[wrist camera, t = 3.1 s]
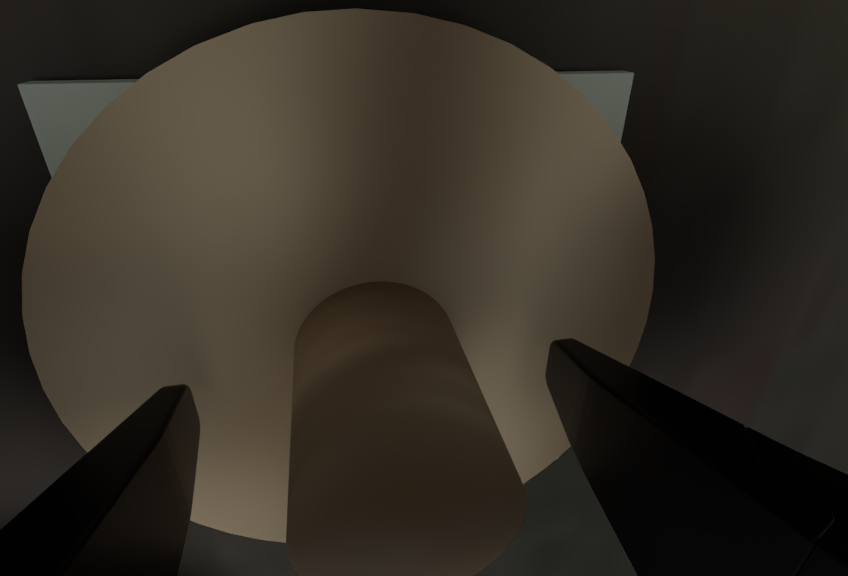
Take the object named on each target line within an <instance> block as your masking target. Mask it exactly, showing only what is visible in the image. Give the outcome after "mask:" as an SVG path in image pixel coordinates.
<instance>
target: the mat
mask: <svg viewBox="0 0 848 576" xmlns="http://www.w3.org/2000/svg"><path fill="white" fill-rule="evenodd" d="M557 73H558V74H559V75H560V76H561V77H563V78H564V79H565V80H566V81H567V82H569V83H570V84H571V85H572V86H573V87H574V88H576V89H577V90H578V91H579V92H580V93H582V94H583V95H584V96H585V97H586V98H587V100H588V101H589V102H590V103H591V104H592V105H593V106H594V108H595V109H596V110H597V111H598V112H599V113H600V115H601V116H602V117H603V118H604V119H605V120H606V122H607V123H608V124H609V125H610V126H611V128H612V129H613V131H614V133H615V134H616V136H617V138H618V139H619V141H620V142H621V138H622V133H623V128H624V123H625V118H626V113H627V108H628V103H629V97H630V92H631V87H632V82H633V77H634V73H632V72H627V71H566V72H557ZM138 80H139V79H112V80H55V81H28V82H24V83H21V84H17V85H18V88H19V91H20V93H21V96H22V99H23V101H24V104H25V107H26V110H27V112H28V115H29V118H30V120H31V123H32V126H33V129H34V131H35V134H36V137H37V139H38V142H39V145H40V148H41V150H42V153H43V156H44V158H45V161H46V164H47V167H48V169H49V172H50V175H51V177H53V175H54V174H55V172H56V170H57V169H58V167H59V165H60V164H61V162H62V160H63V159H64V157H65V155H66V154H67V152H68V150H69V149H70V147H71V146H72V144H73V143H74V142H75V141H76V140H77V139H78V138H79V136H80V135H81V134H82V133H83V132H84V131H85V130H86V128H87V127H88V126H89V125H90V124H91V123H92V121H93V120H94V119H95V118H96V117H97V116H98V115H99V113H100V112H101V111H102V110H103V109H104V108H105V107H106V106H107V105H108V104H110V103H111V102H112V101H113V100H114V99H116V98H117V97H118V96H119V95H121V94H122V93H123V92H124V91H125V90H127V89H128V88H129V87H130V86H132V85H133V84H134V83H135V82H136V81H138ZM558 458H559V457H558ZM558 458H557V459H558Z"/></svg>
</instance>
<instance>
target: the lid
mask: <svg viewBox="0 0 848 576" xmlns="http://www.w3.org/2000/svg"><path fill="white" fill-rule="evenodd" d="M654 265H655V254H654V241H653V229H652V223H651V219H650V214H649V210H648V206H647V202H646V197H645V193H644V190H643V188H642V186H641V183H640V181H639V178H638V176H637V173H636V171H635V168H634V166H633V164H632V161H631V159H630V157H629V156H628V154H627V152H626V151H625V149H624V147H623V146H622V144H621V142H620V141H619V139H618V138H617V136H616V134H615V133H614V131H613V129H612V128H611V126H610V125H609V124H608V123H607V122H606V120H605V119H604V118H603V117H602V116H601V115H600V113H599V112H598V111H597V110H596V109H595V108H594V106H593V105H592V104H591V103H590V102H589V101H588V100H587V98H586V97H585V96H584V95H583V94H582V93H580V92H579V91H578V90H577V89H576V88H574V87H573V86H572V85H571V84H570V83H569V82H567V81H566V80H565V79H564V78H563V77H561V76H560V75H559V74H558V73H557V72H555V71H554V70H553V69H552V68H551V67H549V66H547V65H546V64H544V63H542V62H541V61H539V60H537V59H536V58H534V57H532V56H531V55H529V54H527V53H526V52H524V51H522V50H521V49H519V48H517V47H516V46H514V45H512V44H510V43H508V42H505V41H503V40H500V39H498V38H496V37H493V36H491V35H488V34H486V33H483V32H481V31H478V30H476V29H473V28H471V27H468V26H466V25H462V24H458V23H454V22H450V21H445V20H441V19H437V18H433V17H428V16H424V15H420V14H416V13H406V12H394V11H382V10H369V9H357V8H353V9H339V10H324V11H309V12H301V13H297V14H292V15H287V16H283V17H278V18H274V19H269V20H265V21H260V22H256V23H252V24H249V25H246V26H243V27H241V28H238V29H236V30H233V31H231V32H228V33H225V34H223V35H220V36H218V37H215V38H213V39H210V40H207V41H205V42H202V43H200V44H197V45H194V46H193V47H191V48H189V49H188V50H186V51H184V52H182V53H181V54H179V55H177V56H175V57H174V58H172V59H170V60H169V61H167V62H165V63H163V64H162V65H160V66H158V67H157V68H155V69H153V70H151V71H150V72H148V73H146V74H145V75H144V76H142V77H141V78H140V79H139V80H138V81H136V82H135V83H134V84H133V85H132V86H130V87H129V88H128V89H127V90H125V91H124V92H123V93H122V94H121V95H119V96H118V97H117V98H116V99H114V100H113V101H112V102H111V103H110V104H108V105H107V106H106V107H105V108H104V109H103V110H102V111H101V112H100V113H99V115H98V116H97V117H96V118H95V119H94V120H93V121H92V123H91V124H90V125H89V126H88V127H87V128H86V130H85V131H84V132H83V133H82V134H81V135H80V136H79V138H78V139H77V140H76V141H75V142H74V143H73V144H72V146H71V147H70V149H69V150H68V152H67V154H66V155H65V157H64V159H63V160H62V162H61V164H60V165H59V167H58V169H57V170H56V172H55V174H54V175H53V177H52V179H51V180H50V182H49V184H48V185H47V187H46V189H45V191H44V194H43V197H42V199H41V202H40V205H39V207H38V210H37V213H36V215H35V218H34V221H33V223H32V226H31V229H30V231H29V237H28V242H27V248H26V254H25V259H24V265H23V271H22V317H23V322H24V327H25V332H26V337H27V343H28V348H29V353H30V356H31V359H32V361H33V364H34V367H35V369H36V372H37V375H38V377H39V380H40V382H41V385H42V388H43V390H44V392H45V394H46V395H47V397H48V399H49V400H50V402H51V404H52V406H53V407H54V409H55V411H56V413H57V414H58V416H59V418H60V419H61V421H62V422H63V424H64V425H65V426H66V427H67V429H68V430H69V431H70V432H71V434H72V435H73V436H74V437H75V439H76V440H77V441H78V442H79V444H80V445H81V446H82V447H83V449H84V450H85V451H86V452H87V453H88V452H89V451H90V450H91V449H92V448H93V447H94V446H96V445H97V444H98V443H99V442H100V441H101V440H102V439H103V438H105V437H106V436H107V435H108V434H109V433H110V432H111V431H113V430H114V429H115V428H116V427H117V426H118V425H119V424H120V423H122V422H123V421H124V420H125V419H126V418H127V417H128V416H129V415H131V414H132V413H133V412H134V411H135V410H136V409H137V408H138V407H140V406H141V405H142V404H143V403H144V402H145V401H146V400H147V399H149V398H150V397H151V396H152V395H153V394H154V393H155V392H156V391H158V390H159V389H160V388H162V387H164V386H171V385H179V384H186V385H188V386H189V387H190V389H191V391H192V395H193V398H194V402H195V405H196V409H197V412H198V415H199V419H200V440H199V449H198V458H197V467H196V477H195V486H194V495H193V503H192V511H191V517H190V520H191V521H193V522H196V523H198V524H201V525H204V526H208V527H211V528H214V529H217V530H221V531H224V532H227V533H231V534H236V535H240V536H245V537H250V538H255V539H260V540H267V541H276V542H284V543H286V550H287V555H288V558H289V561H290V564H291V566H292V567H293V569H294V571H295V572H296V573H297V575H298V576H474V575H475V574H477V573H479V572H480V571H481V570H483V569H484V568H486V567H487V566H488V565H490V564H491V563H492V562H493V561H494V560H496V559H497V558H498V557H499V556H500V555H501V554H502V553H503V552H504V551H505V550H506V549H507V547H508V546H509V545H510V544H511V542H512V541H513V540H514V538H515V536H516V535H517V533H518V532H519V530H520V527H521V525H522V523H523V520H524V516H525V512H526V503H527V500H526V492H525V489H524V486H523V484H524V483H525V482H527V481H528V480H530V479H531V478H532V477H534V476H535V475H536V474H538V473H539V472H541V471H542V470H543V469H545V468H546V467H548V466H549V465H550V464H551V463H552V462H553V461H554V460H556V459H557V458H558V457H559V456H560V455H561V454H562V453H564V452H565V451H566V450H567V449H568V448H569V447H570V446H571V445H570V443H569V441H568V438H567V435H566V433H565V430H564V428H563V425H562V423H561V420H560V417H559V415H558V412H557V410H556V407H555V405H554V402H553V399H552V397H551V394H550V392H549V389H548V387H547V383H546V378H545V373H546V366H547V360H548V353H549V347H550V344H551V342H552V341H554V340H558V339H566V338H573V339H575V340H577V341H579V342H581V343H583V344H585V345H587V346H589V347H591V348H593V349H595V350H597V351H599V352H601V353H603V354H605V355H607V356H609V357H611V358H613V359H615V360H617V361H619V362H621V363H623V364H625V365H627V366H630V364H631V362H632V359H633V357H634V355H635V353H636V351H637V349H638V346H639V343H640V340H641V337H642V334H643V331H644V328H645V325H646V322H647V317H648V313H649V308H650V303H651V298H652V293H653V281H654Z"/></svg>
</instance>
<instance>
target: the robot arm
mask: <svg viewBox="0 0 848 576" xmlns="http://www.w3.org/2000/svg"><path fill="white" fill-rule="evenodd" d="M545 378H546V383H547V387H548V389H549V392H550V394H551V397H552V399H553V402H554V405H555V407H556V410H557V412H558V415H559V417H560V420H561V423H562V425H563V428H564V430H565V433H566V435H567V438H568V441H569V443H570V445H571V448H572V450H573V452H574V454H575V456H576V458H577V460H578V463H579V464H580V466H581V468H582V470H583V472H584V474H585V476H586V478H587V480H588V482H589V484H590V485H591V487H592V489H593V491H594V493H595V495H596V497H597V499H598V501H599V503H600V505H601V506H602V508H603V510H604V512H605V514H606V516H607V518H608V520H609V522H610V524H611V526H612V527H613V529H614V531H615V533H616V535H617V537H618V539H619V541H620V543H621V545H622V547H623V548H624V550H625V552H626V554H627V556H628V558H629V560H630V562H631V564H632V566H633V568H634V569H635V571H636V573H637V575H638V576H848V475H847V474H845V473H843V472H841V471H838V470H836V469H834V468H832V467H830V466H827V465H825V464H823V463H821V462H819V461H816V460H814V459H812V458H810V457H808V456H805V455H803V454H801V453H799V452H797V451H795V450H793V449H791V448H789V447H787V446H785V445H783V444H781V443H779V442H777V441H775V440H773V439H771V438H769V437H767V436H765V435H763V434H761V433H759V432H757V431H755V430H753V429H751V428H749V427H747V428H745V427H744V425H743V424H741V423H739V422H737V421H735V420H733V419H731V418H729V417H727V416H725V415H723V414H721V413H719V412H717V411H715V410H713V409H711V408H709V407H707V406H705V405H704V404H702V403H700V402H698V401H696V400H694V399H692V398H690V397H688V396H686V395H684V394H682V393H680V392H678V391H676V390H674V389H672V388H670V387H668V386H666V385H664V384H662V383H660V382H658V381H656V380H654V379H652V378H650V377H648V376H646V375H644V374H642V373H640V372H639V371H637V370H635V369H633V368H631V367H629V366H627V365H625V364H623V363H621V362H619V361H617V360H615V359H613V358H611V357H609V356H607V355H605V354H603V353H601V352H599V351H597V350H595V349H593V348H591V347H589V346H587V345H585V344H583V343H581V342H579V341H577V340H575V339H573V338H566V339H558V340H554V341H552V342H551V344H550V347H549V353H548V360H547V366H546V373H545ZM199 440H200V419H199V415H198V412H197V409H196V405H195V402H194V398H193V395H192V391H191V389H190V387H189V386H188V385H186V384H179V385H171V386H164V387H162V388H160V389H159V390H158V391H156V392H155V393H154V394H153V395H152V396H151V397H150V398H149V399H147V400H146V401H145V402H144V403H143V404H142V405H141V406H140V407H138V408H137V409H136V410H135V411H134V412H133V413H132V414H131V415H129V416H128V417H127V418H126V419H125V420H124V421H123V422H122V423H120V424H119V425H118V426H117V427H116V428H115V429H114V430H113V431H111V432H110V433H109V434H108V435H107V436H106V437H105V438H103V439H102V440H101V441H100V442H99V443H98V444H97V445H96V446H94V447H93V448H92V449H91V450H90V451H89V452H88V453H87V454H85V455H84V456H83V457H82V458H81V459H80V460H79V461H78V462H76V463H75V464H74V465H73V466H72V467H71V468H70V469H69V470H67V471H66V472H65V473H64V474H63V475H62V476H61V477H60V478H58V479H57V480H56V481H55V482H54V483H53V484H52V485H51V486H49V487H48V488H47V489H46V490H45V491H44V492H43V493H41V494H40V495H39V496H38V497H37V498H36V499H35V500H34V501H32V502H31V503H30V504H29V505H28V506H27V507H26V508H25V509H23V510H22V511H21V512H20V513H19V514H18V515H17V516H16V517H14V518H13V519H12V520H11V521H10V522H9V523H8V524H7V525H5V526H4V527H3V528H2V529H1V530H0V576H177V574H178V569H179V565H180V561H181V557H182V552H183V548H184V544H185V540H186V535H187V531H188V527H189V522H190V517H191V511H192V503H193V495H194V486H195V477H196V467H197V458H198V449H199Z"/></svg>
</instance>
